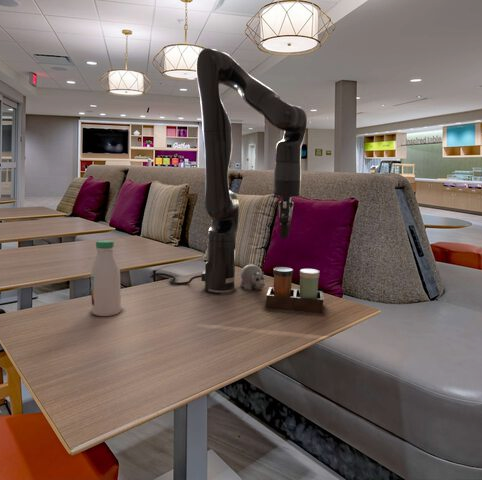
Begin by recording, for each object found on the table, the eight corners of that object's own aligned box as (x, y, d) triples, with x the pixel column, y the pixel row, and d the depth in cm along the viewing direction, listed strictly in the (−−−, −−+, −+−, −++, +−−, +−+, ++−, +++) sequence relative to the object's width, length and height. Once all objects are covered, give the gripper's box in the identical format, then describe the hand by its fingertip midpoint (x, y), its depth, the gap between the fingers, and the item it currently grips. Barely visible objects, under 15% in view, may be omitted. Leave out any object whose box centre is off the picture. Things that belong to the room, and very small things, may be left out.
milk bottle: (126, 309, 118) (125, 240, 115) (109, 318, 111) (108, 244, 108) (103, 306, 121) (101, 237, 117) (85, 314, 114) (83, 242, 110)
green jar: (297, 309, 120) (299, 272, 118) (298, 303, 125) (300, 268, 124) (317, 311, 119) (319, 273, 117) (317, 305, 124) (319, 269, 123)
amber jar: (271, 307, 121) (272, 270, 120) (273, 301, 127) (274, 266, 125) (290, 309, 120) (292, 272, 119) (291, 303, 126) (293, 267, 124)
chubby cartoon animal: (251, 297, 132) (251, 271, 131) (237, 287, 143) (238, 262, 142) (271, 295, 135) (272, 269, 133) (256, 285, 146) (257, 261, 144)
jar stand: (265, 310, 120) (266, 295, 120) (268, 301, 129) (269, 287, 128) (322, 315, 118) (323, 299, 117) (321, 306, 126) (322, 291, 125)
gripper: (276, 178, 125) (274, 231, 128) (271, 179, 111) (269, 239, 114) (301, 178, 124) (299, 232, 126) (300, 179, 110) (297, 240, 113)
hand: (285, 235), depth 120 cm, fingers open, 8 cm apart
